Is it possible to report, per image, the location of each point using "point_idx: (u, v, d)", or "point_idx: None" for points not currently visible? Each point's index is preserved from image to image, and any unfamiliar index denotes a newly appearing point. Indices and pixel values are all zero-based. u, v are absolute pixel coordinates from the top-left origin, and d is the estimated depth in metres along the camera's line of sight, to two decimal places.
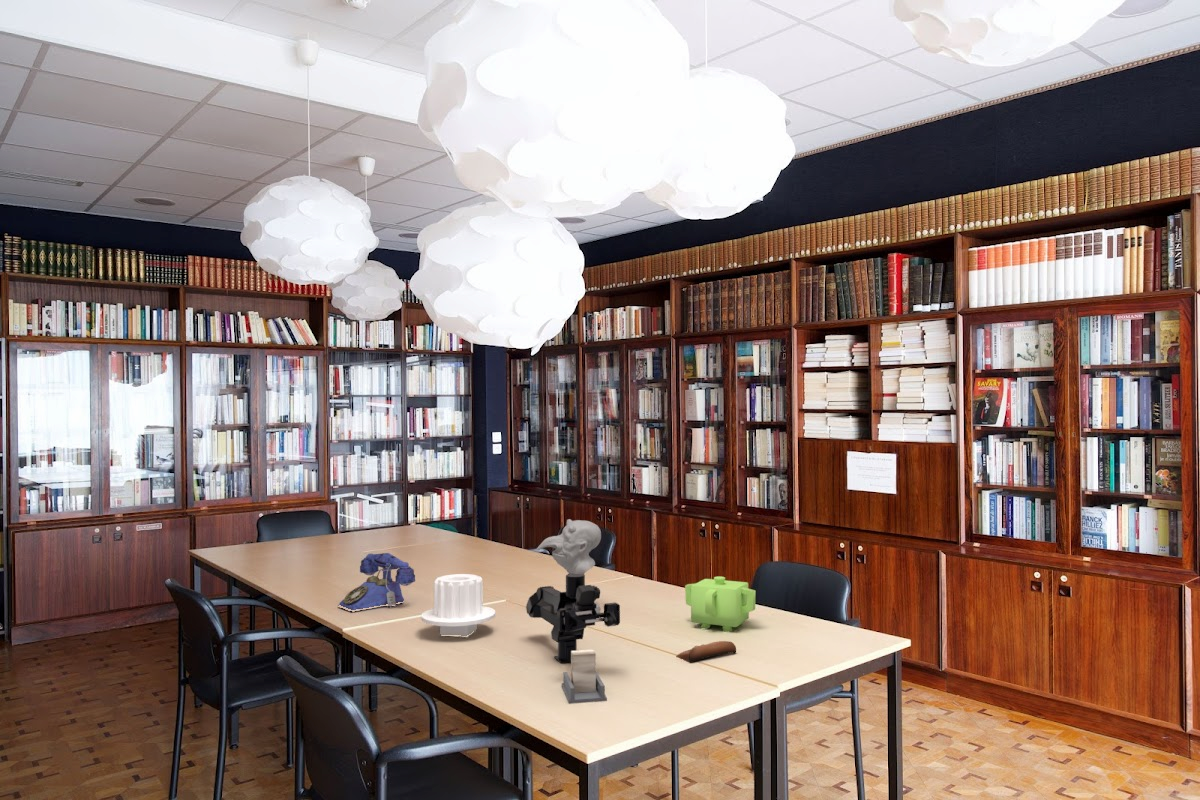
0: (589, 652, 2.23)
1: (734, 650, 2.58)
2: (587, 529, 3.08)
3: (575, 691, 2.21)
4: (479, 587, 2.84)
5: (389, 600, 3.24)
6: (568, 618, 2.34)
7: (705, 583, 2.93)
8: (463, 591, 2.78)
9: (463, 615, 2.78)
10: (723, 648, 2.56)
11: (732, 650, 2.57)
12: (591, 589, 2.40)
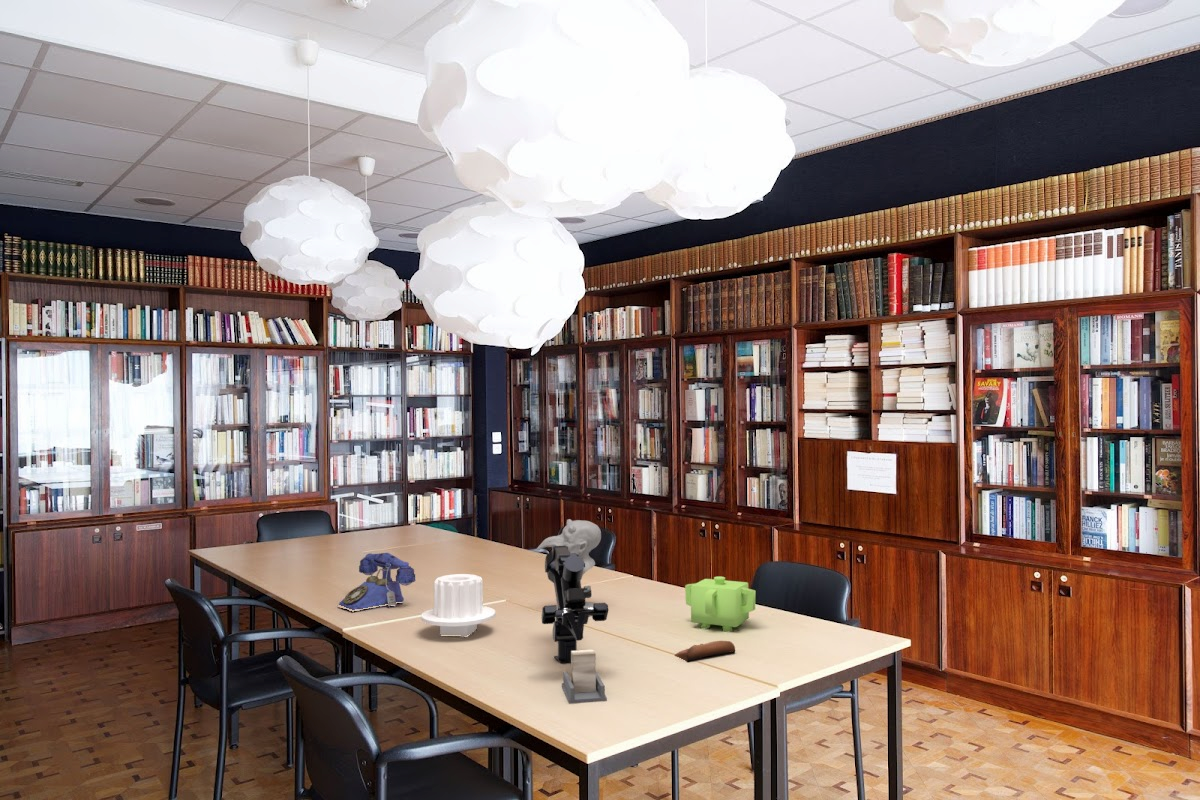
0: (589, 652, 2.23)
1: (733, 650, 2.58)
2: (587, 529, 3.08)
3: (575, 691, 2.21)
4: (479, 587, 2.84)
5: (389, 600, 3.25)
6: (566, 618, 2.36)
7: (705, 583, 2.93)
8: (463, 591, 2.78)
9: (463, 615, 2.78)
10: (722, 648, 2.56)
11: (731, 650, 2.57)
12: (581, 596, 2.33)
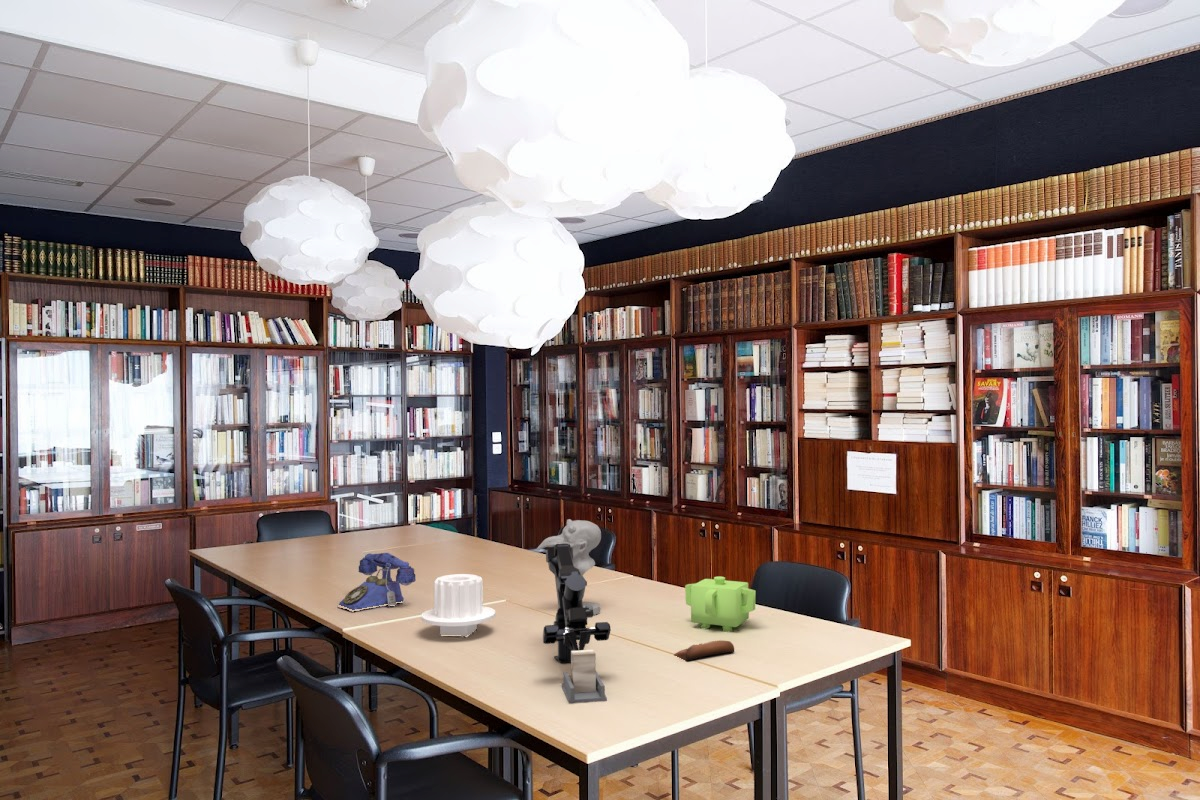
0: (589, 652, 2.23)
1: (732, 649, 2.58)
2: (587, 529, 3.08)
3: (575, 691, 2.21)
4: (479, 587, 2.84)
5: (389, 600, 3.25)
6: (568, 638, 2.32)
7: (705, 583, 2.93)
8: (463, 591, 2.78)
9: (463, 615, 2.78)
10: (721, 647, 2.56)
11: (730, 649, 2.58)
12: (582, 616, 2.30)
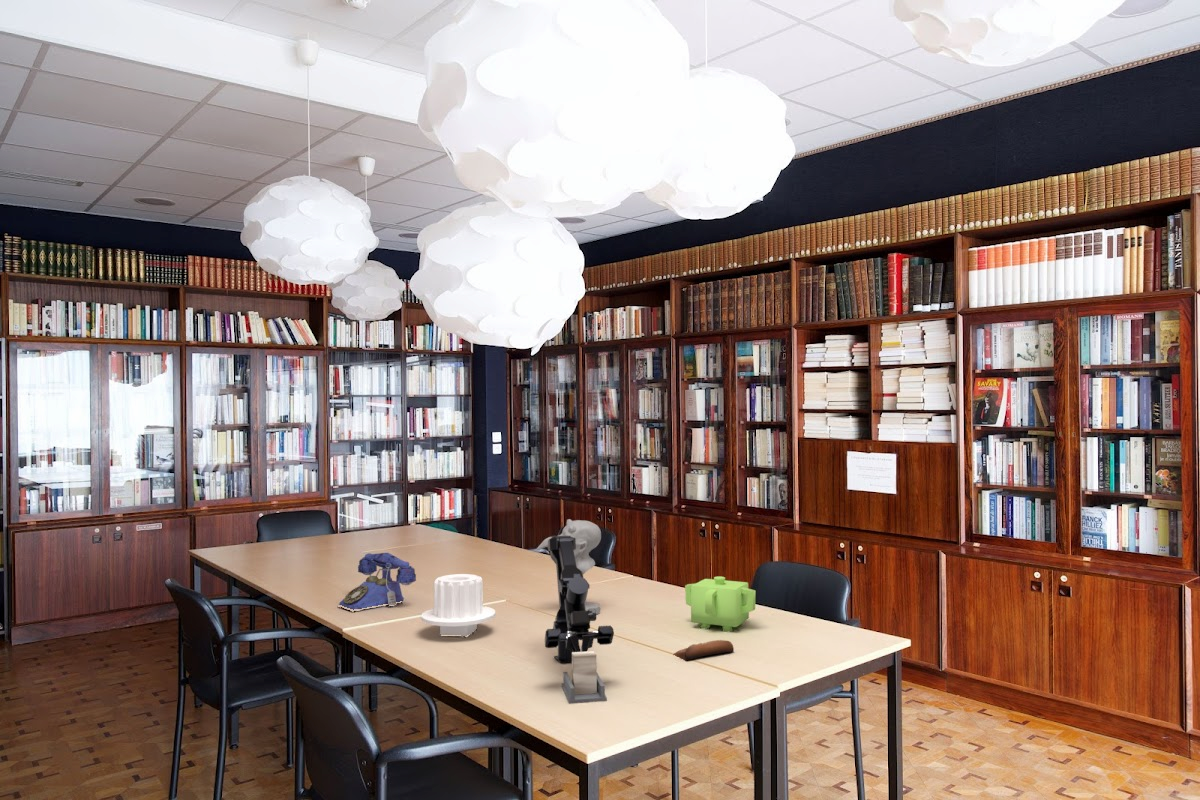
0: (590, 654, 2.22)
1: (731, 649, 2.59)
2: (587, 529, 3.08)
3: (576, 693, 2.20)
4: (479, 587, 2.84)
5: (389, 600, 3.25)
6: (570, 642, 2.28)
7: (705, 583, 2.93)
8: (463, 591, 2.78)
9: (463, 615, 2.78)
10: (720, 647, 2.57)
11: (729, 649, 2.58)
12: (585, 620, 2.26)
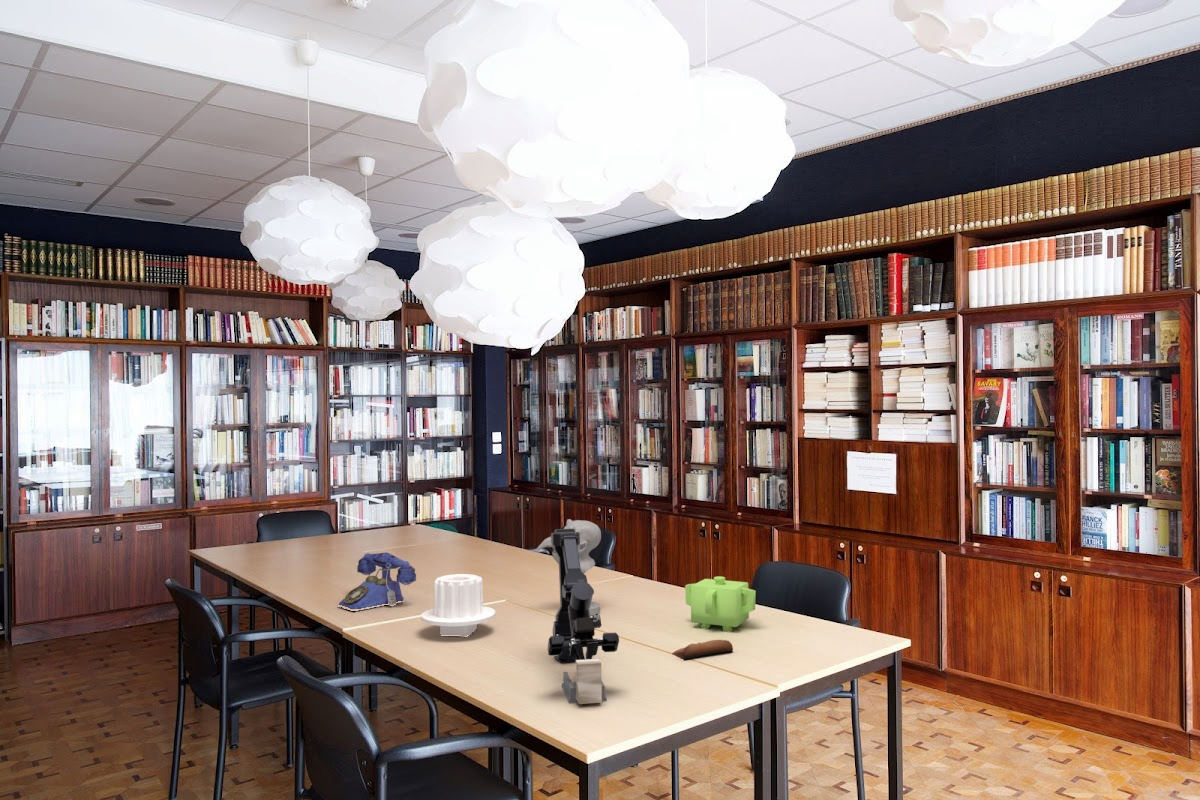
0: (595, 661, 2.15)
1: (730, 649, 2.59)
2: (587, 529, 3.08)
3: (580, 702, 2.12)
4: (479, 587, 2.84)
5: (389, 599, 3.25)
6: (574, 649, 2.21)
7: (705, 583, 2.93)
8: (463, 591, 2.78)
9: (463, 615, 2.78)
10: (719, 647, 2.57)
11: (728, 649, 2.58)
12: (590, 627, 2.18)
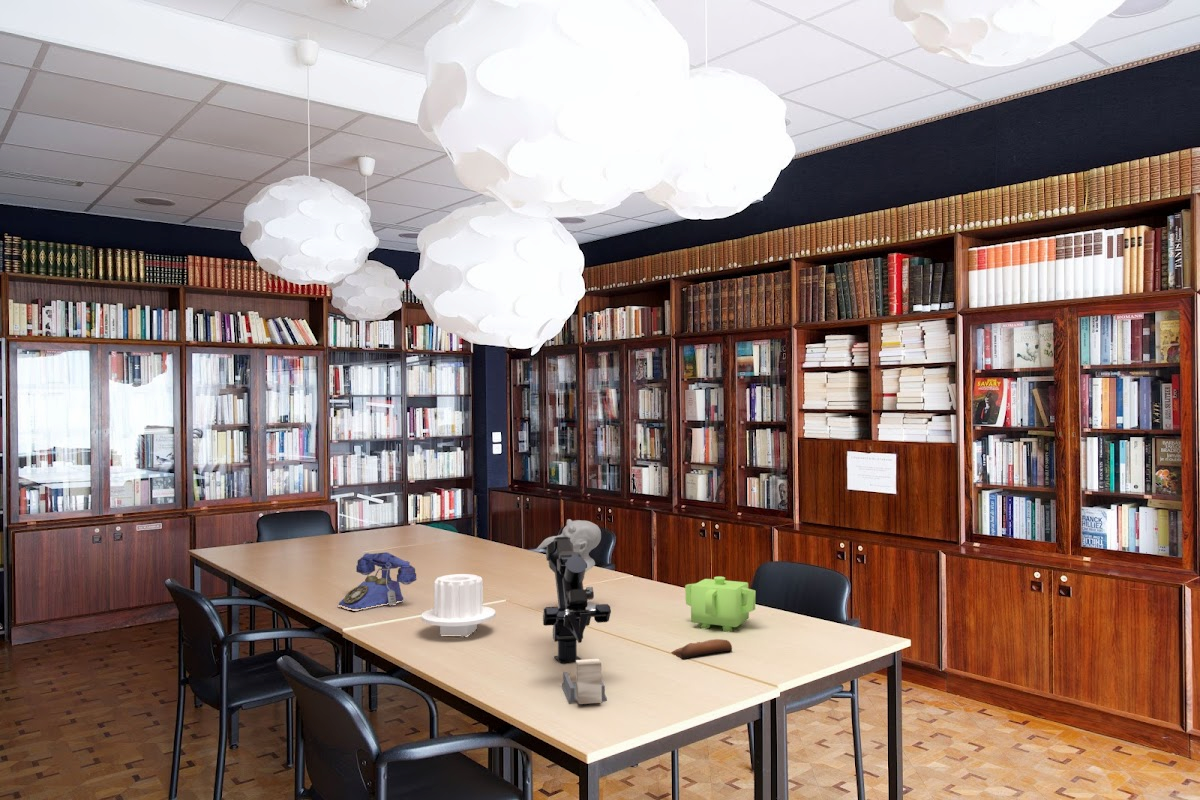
0: (595, 662, 2.15)
1: (730, 648, 2.59)
2: (587, 529, 3.08)
3: (580, 702, 2.12)
4: (479, 587, 2.84)
5: (390, 599, 3.26)
6: (568, 620, 2.32)
7: (705, 583, 2.93)
8: (463, 591, 2.78)
9: (463, 615, 2.78)
10: (718, 646, 2.58)
11: (727, 648, 2.59)
12: (583, 598, 2.29)
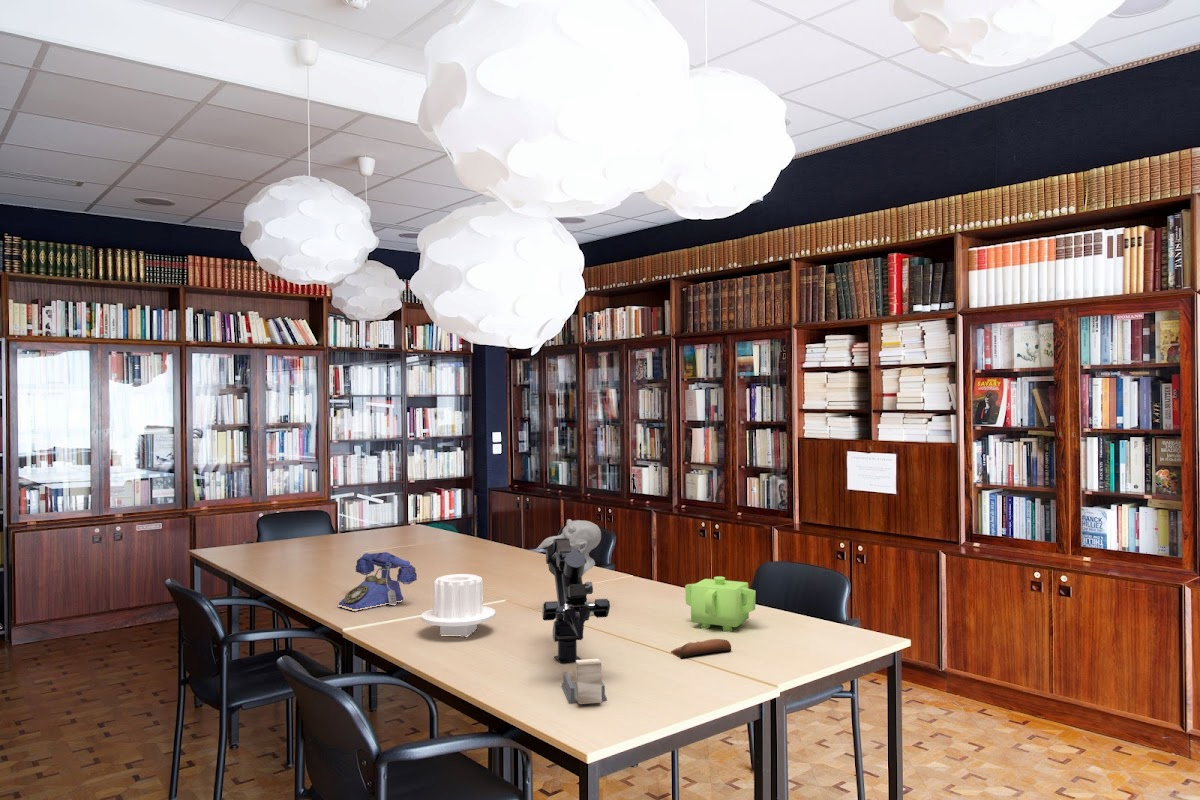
0: (595, 662, 2.15)
1: (729, 648, 2.60)
2: (587, 529, 3.08)
3: (580, 702, 2.12)
4: (479, 587, 2.84)
5: (390, 599, 3.26)
6: (567, 614, 2.33)
7: (705, 583, 2.93)
8: (463, 591, 2.78)
9: (463, 615, 2.78)
10: (717, 646, 2.58)
11: (727, 648, 2.59)
12: (582, 592, 2.31)
